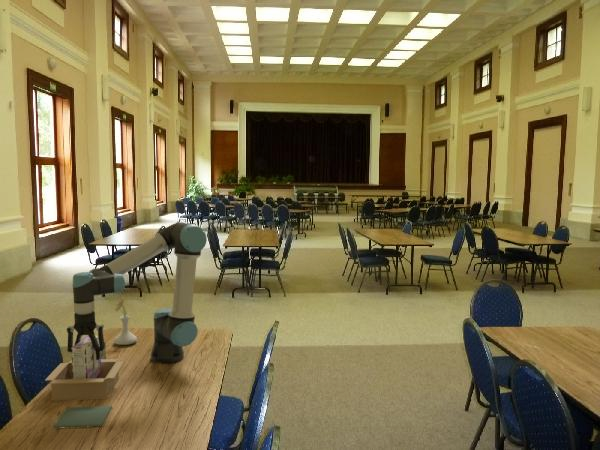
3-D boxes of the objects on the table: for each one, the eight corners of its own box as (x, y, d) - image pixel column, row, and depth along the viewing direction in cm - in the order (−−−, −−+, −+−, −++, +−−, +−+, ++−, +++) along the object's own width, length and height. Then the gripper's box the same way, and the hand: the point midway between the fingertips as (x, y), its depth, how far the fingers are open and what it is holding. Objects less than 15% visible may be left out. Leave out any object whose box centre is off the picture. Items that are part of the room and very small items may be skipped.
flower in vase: (116, 339, 263) (115, 292, 261) (139, 339, 265) (138, 292, 262) (110, 348, 251) (109, 299, 248) (134, 347, 252) (132, 298, 249)
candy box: (88, 373, 211) (86, 335, 209) (102, 373, 211) (100, 335, 209) (72, 388, 197) (70, 347, 195) (87, 388, 197) (85, 347, 195)
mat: (112, 407, 189) (112, 405, 189) (101, 426, 175) (101, 424, 175) (67, 409, 187) (67, 407, 187) (53, 428, 173) (53, 426, 173)
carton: (126, 376, 217) (125, 358, 216) (112, 401, 194) (111, 381, 193) (64, 378, 214) (63, 360, 213) (42, 403, 191) (41, 383, 190)
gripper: (112, 308, 205) (114, 363, 208) (62, 309, 203) (65, 365, 206) (107, 313, 198) (109, 370, 201) (55, 315, 196) (58, 372, 198)
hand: (87, 367), depth 203 cm, fingers closed on candy box, 6 cm apart
